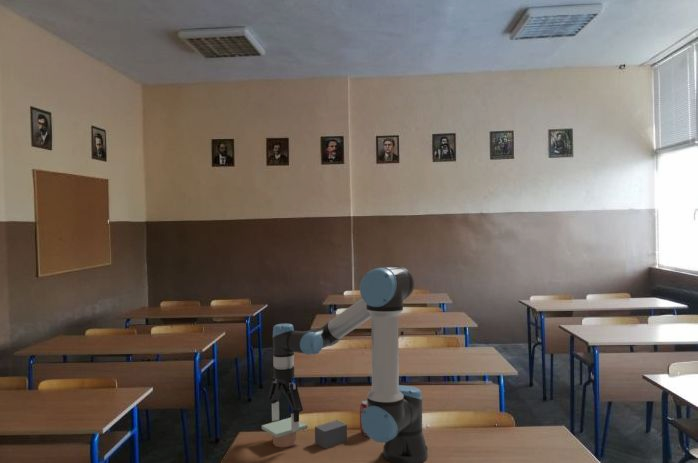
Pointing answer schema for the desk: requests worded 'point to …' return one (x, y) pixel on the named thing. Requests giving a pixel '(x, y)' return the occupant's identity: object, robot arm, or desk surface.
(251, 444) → the desk surface
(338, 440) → the dark grey rectangular block
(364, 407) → the soda can
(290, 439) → the pink ceramic pot
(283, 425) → the lid
